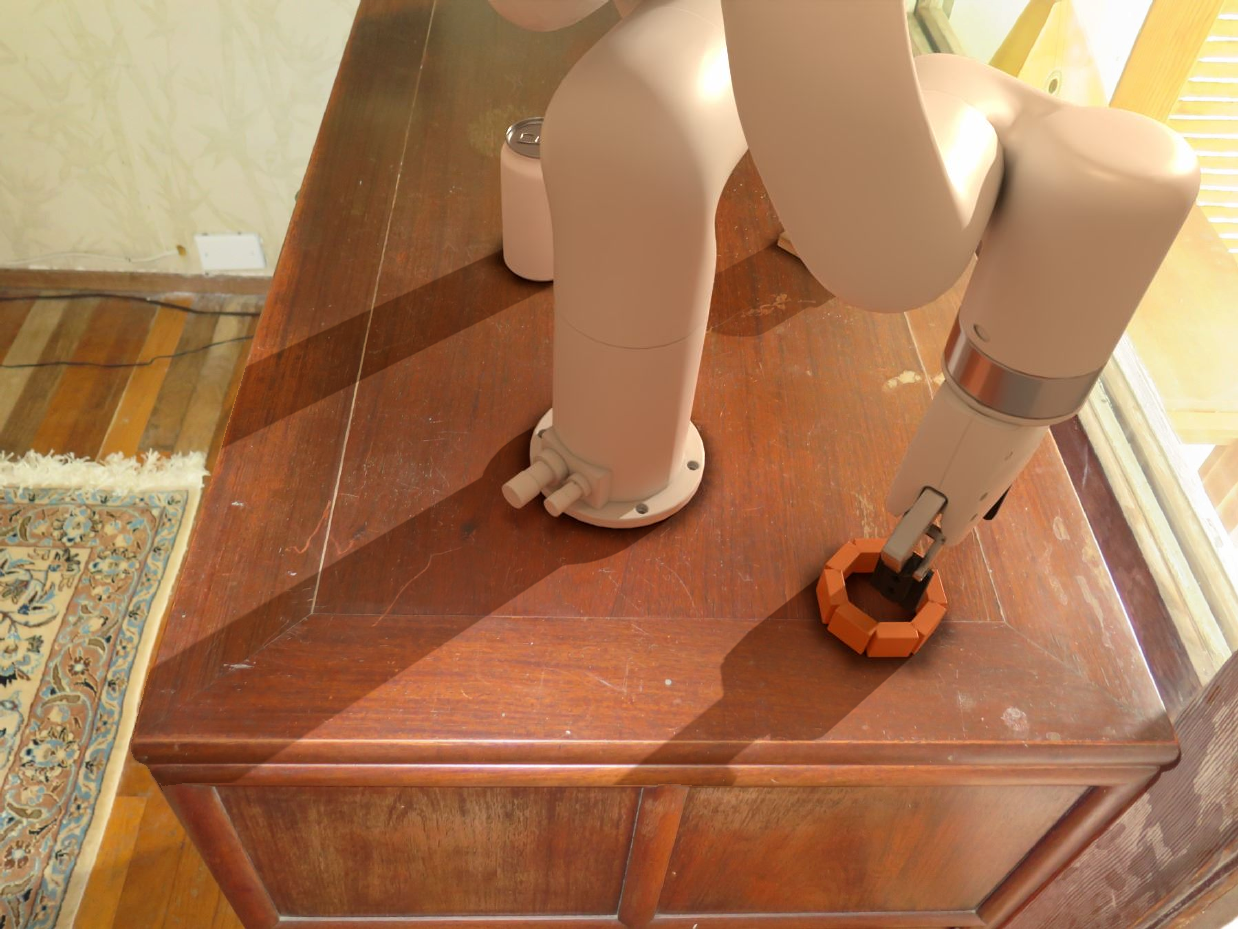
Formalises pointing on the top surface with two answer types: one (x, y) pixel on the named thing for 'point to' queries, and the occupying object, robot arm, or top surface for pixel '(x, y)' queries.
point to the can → (525, 204)
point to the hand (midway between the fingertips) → (933, 550)
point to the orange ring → (857, 624)
